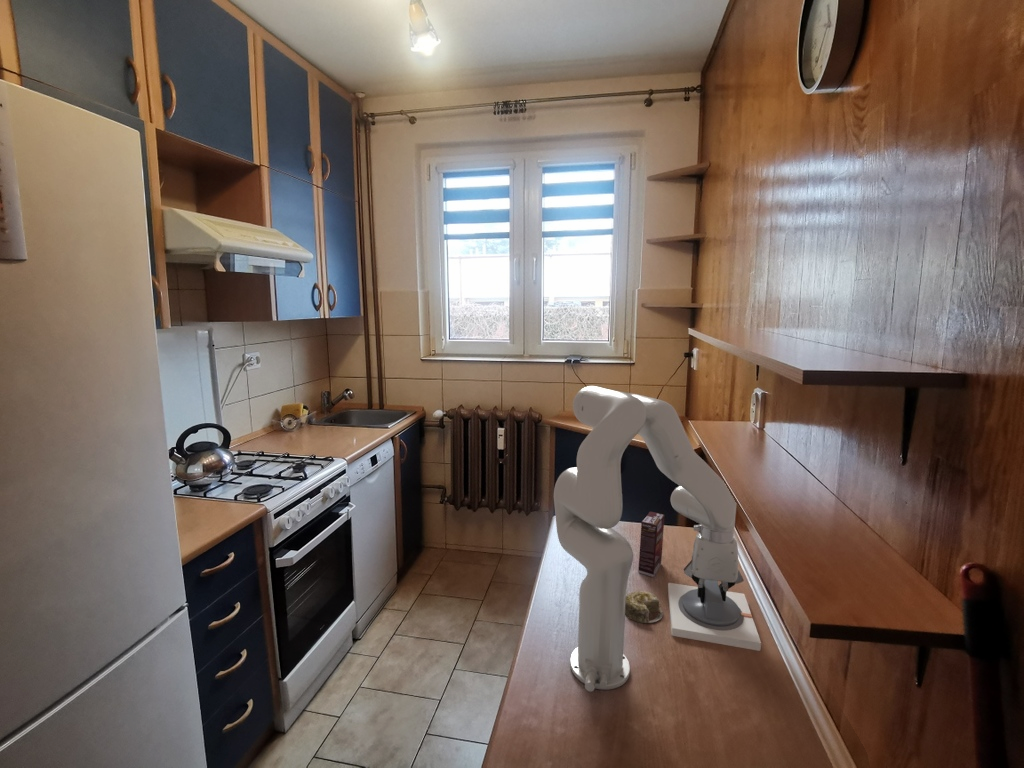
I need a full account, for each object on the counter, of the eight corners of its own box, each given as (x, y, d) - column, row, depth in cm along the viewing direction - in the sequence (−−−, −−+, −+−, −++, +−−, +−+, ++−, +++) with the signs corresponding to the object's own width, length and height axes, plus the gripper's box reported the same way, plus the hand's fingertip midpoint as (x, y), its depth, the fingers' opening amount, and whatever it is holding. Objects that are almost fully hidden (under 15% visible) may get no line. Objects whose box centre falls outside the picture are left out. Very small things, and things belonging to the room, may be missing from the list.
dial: (744, 630, 111) (746, 606, 110) (684, 620, 114) (686, 597, 113) (734, 597, 123) (735, 576, 122) (680, 589, 127) (682, 568, 126)
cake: (616, 617, 120) (615, 597, 120) (630, 598, 129) (630, 579, 128) (655, 629, 115) (654, 608, 114) (668, 608, 123) (667, 589, 122)
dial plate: (760, 651, 108) (761, 641, 107) (671, 635, 113) (672, 626, 112) (743, 600, 126) (744, 592, 126) (667, 589, 131) (668, 581, 130)
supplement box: (654, 578, 136) (657, 525, 133) (637, 573, 139) (640, 521, 136) (662, 564, 143) (665, 514, 141) (646, 559, 146) (648, 510, 143)
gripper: (681, 535, 114) (676, 604, 117) (757, 544, 110) (750, 616, 113) (679, 521, 121) (674, 587, 124) (750, 529, 117) (744, 597, 120)
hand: (710, 600), depth 119 cm, fingers closed on dial, 3 cm apart
